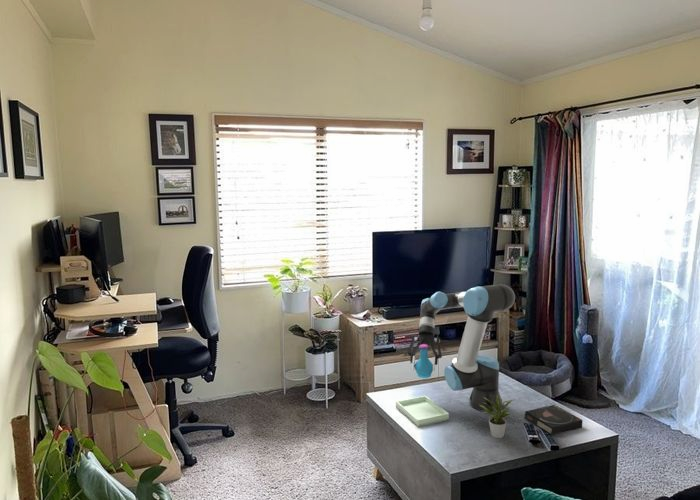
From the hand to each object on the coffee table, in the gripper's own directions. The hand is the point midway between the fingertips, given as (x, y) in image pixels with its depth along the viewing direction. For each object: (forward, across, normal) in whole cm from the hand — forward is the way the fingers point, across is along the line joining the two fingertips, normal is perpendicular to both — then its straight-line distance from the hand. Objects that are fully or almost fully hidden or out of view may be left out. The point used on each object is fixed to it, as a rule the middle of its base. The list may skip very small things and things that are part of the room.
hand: (423, 370), depth 246 cm
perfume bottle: (+1, 0, -5) cm, 5 cm away
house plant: (+28, -34, +3) cm, 44 cm away
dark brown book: (+18, -57, -8) cm, 61 cm away
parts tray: (+19, 0, -5) cm, 20 cm away
